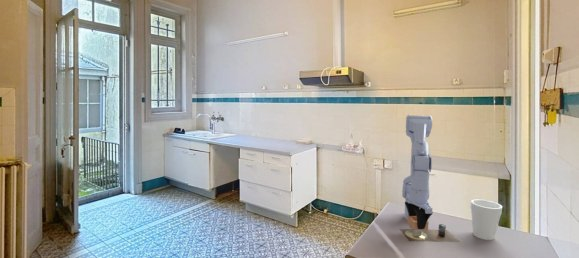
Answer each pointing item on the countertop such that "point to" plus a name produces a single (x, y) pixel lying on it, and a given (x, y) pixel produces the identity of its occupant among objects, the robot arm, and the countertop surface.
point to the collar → (415, 223)
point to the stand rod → (441, 230)
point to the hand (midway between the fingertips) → (416, 225)
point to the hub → (416, 234)
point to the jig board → (434, 236)
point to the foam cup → (485, 218)
